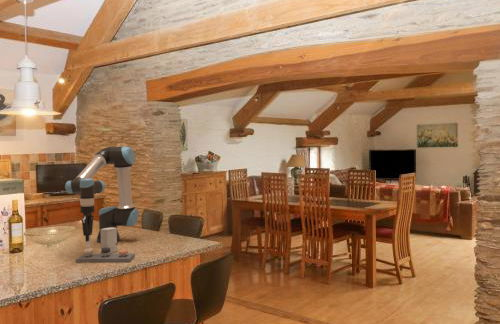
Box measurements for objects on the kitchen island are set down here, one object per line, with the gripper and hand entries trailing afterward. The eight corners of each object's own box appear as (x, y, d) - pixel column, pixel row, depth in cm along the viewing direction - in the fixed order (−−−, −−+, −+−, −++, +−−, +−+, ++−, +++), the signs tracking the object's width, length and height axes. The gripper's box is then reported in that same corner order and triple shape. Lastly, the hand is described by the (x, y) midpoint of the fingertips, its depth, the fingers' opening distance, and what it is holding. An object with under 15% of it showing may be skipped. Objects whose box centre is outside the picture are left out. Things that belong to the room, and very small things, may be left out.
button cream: (86, 256, 265) (85, 247, 265) (94, 256, 265) (94, 247, 265) (83, 258, 260) (82, 249, 260) (91, 258, 260) (91, 249, 260)
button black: (103, 256, 265) (103, 247, 265) (111, 255, 265) (111, 247, 265) (100, 258, 260) (100, 249, 260) (108, 258, 260) (108, 249, 260)
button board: (84, 257, 269) (83, 253, 269) (134, 256, 268) (134, 253, 268) (76, 262, 257) (75, 259, 257) (129, 262, 256) (129, 258, 256)
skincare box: (107, 254, 276) (106, 229, 275) (100, 253, 278) (99, 228, 278) (117, 251, 283) (117, 227, 282) (110, 250, 286) (110, 226, 285)
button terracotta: (120, 257, 265) (120, 249, 265) (128, 257, 265) (128, 249, 265) (118, 259, 260) (117, 251, 260) (126, 259, 260) (126, 251, 260)
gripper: (85, 204, 268) (85, 244, 269) (76, 207, 255) (77, 249, 256) (97, 204, 268) (98, 244, 269) (89, 207, 255) (90, 249, 256)
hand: (88, 246), depth 262 cm, fingers closed
